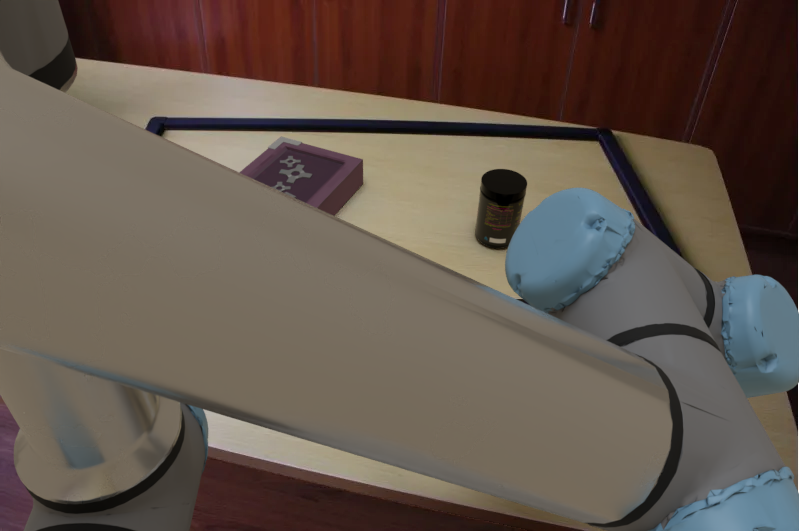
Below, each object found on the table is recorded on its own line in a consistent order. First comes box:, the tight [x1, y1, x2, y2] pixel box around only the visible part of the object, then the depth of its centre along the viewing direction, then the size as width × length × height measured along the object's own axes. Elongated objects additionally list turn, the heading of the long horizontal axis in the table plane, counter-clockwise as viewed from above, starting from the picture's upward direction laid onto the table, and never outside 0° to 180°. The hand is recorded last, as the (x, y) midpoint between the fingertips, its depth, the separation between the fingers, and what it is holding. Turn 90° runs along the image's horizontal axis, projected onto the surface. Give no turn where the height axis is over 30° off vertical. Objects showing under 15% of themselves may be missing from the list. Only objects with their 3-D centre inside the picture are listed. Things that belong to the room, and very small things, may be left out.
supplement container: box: [474, 168, 528, 250], centre depth 97 cm, size 7×7×10 cm
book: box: [238, 136, 364, 216], centre depth 103 cm, size 25×16×5 cm, turn 156°
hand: (417, 390), depth 67 cm, fingers open, 13 cm apart
